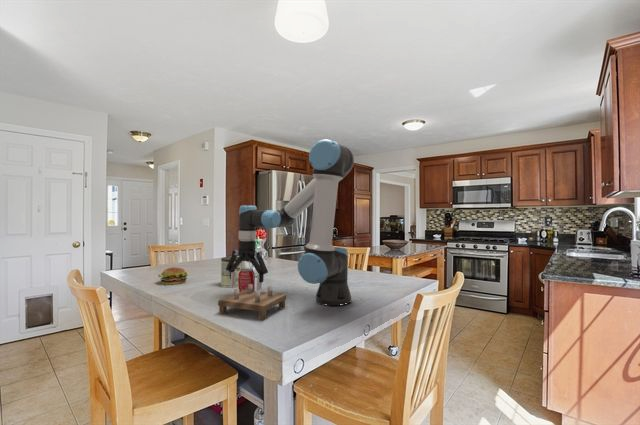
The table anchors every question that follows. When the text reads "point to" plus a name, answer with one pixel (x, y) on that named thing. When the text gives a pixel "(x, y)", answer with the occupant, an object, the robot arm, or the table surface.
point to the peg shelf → (252, 301)
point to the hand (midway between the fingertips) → (246, 288)
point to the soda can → (246, 279)
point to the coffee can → (226, 274)
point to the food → (173, 276)
